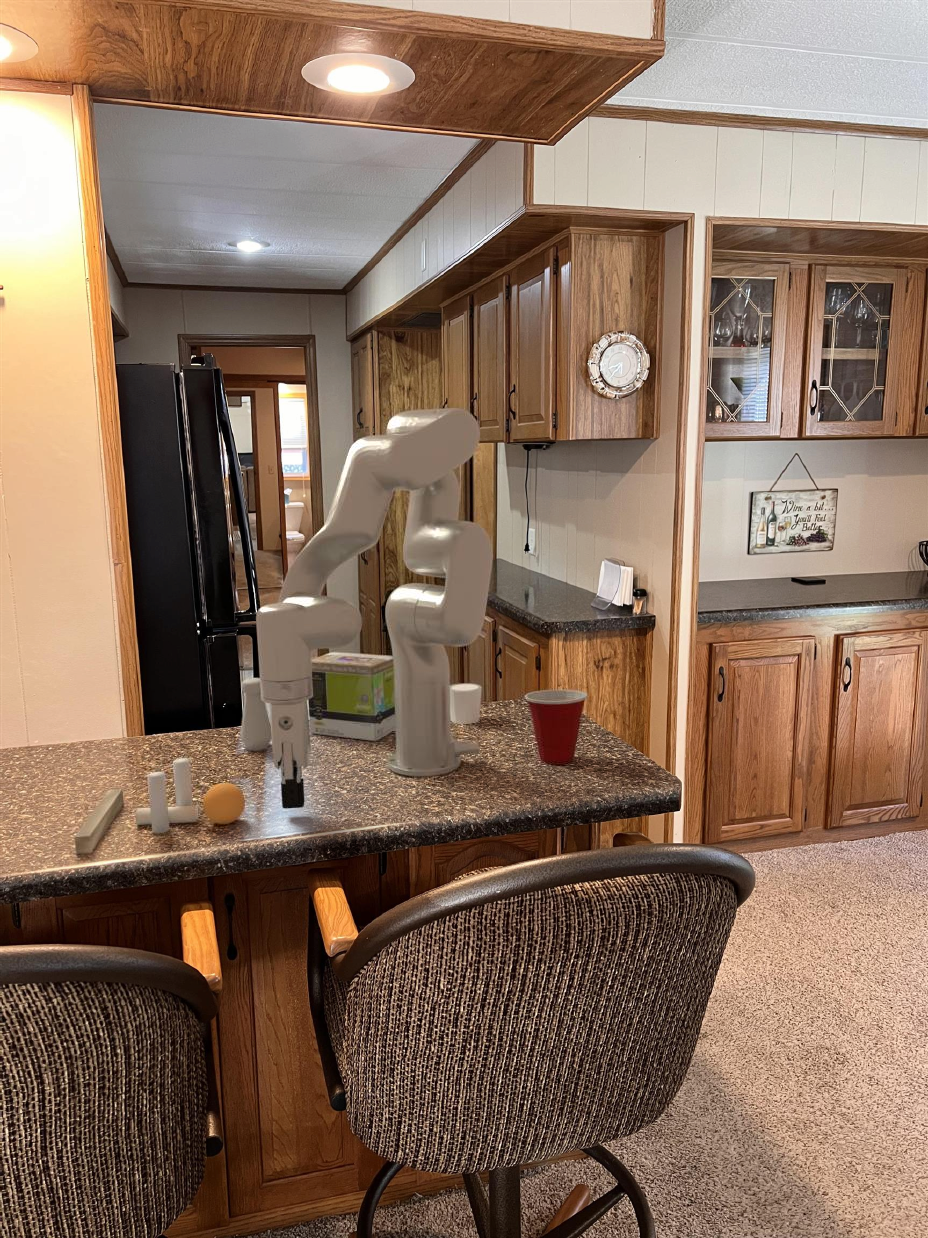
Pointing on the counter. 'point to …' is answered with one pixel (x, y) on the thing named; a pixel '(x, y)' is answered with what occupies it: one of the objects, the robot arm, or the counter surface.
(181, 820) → the front pin
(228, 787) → the ball
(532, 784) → the counter surface
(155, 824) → the pin
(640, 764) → the counter surface
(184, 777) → the pin
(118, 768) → the counter surface
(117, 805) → the back rail
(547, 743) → the plastic cup
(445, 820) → the counter surface
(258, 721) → the salt shaker
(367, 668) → the tea box
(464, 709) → the white cylinder
